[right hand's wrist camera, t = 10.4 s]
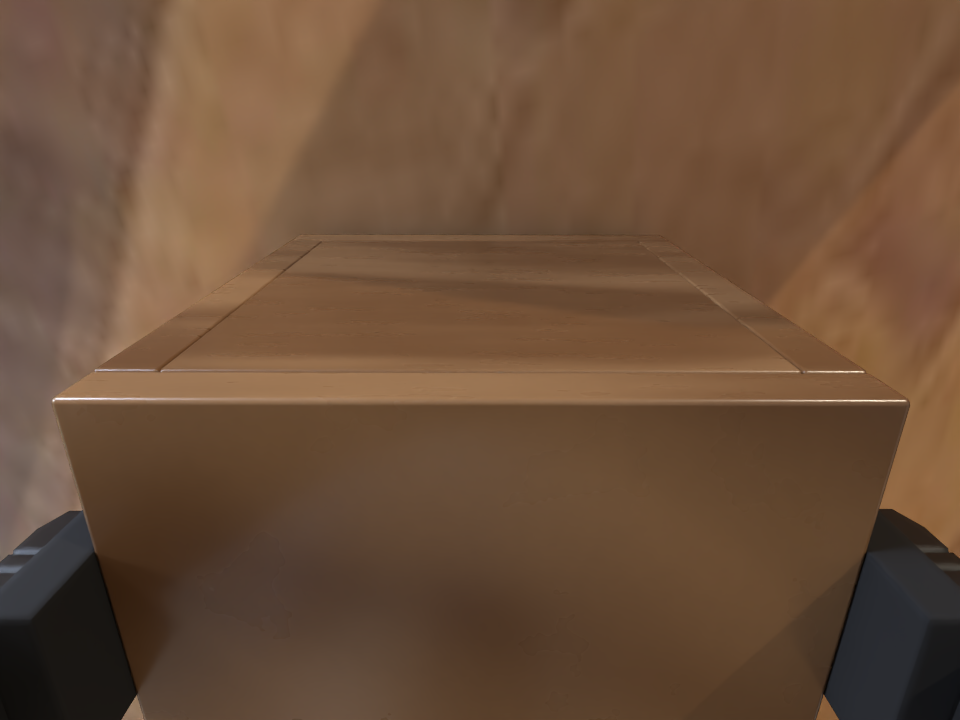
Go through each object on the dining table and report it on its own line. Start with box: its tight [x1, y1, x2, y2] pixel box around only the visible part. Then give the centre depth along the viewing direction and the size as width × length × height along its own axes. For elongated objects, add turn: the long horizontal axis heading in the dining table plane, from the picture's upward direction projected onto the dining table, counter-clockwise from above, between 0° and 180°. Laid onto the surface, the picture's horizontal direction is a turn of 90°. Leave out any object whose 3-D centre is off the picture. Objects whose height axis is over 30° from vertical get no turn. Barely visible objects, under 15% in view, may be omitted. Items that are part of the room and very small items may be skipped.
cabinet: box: [52, 235, 910, 720], centre depth 16 cm, size 22×10×11 cm, turn 0°
